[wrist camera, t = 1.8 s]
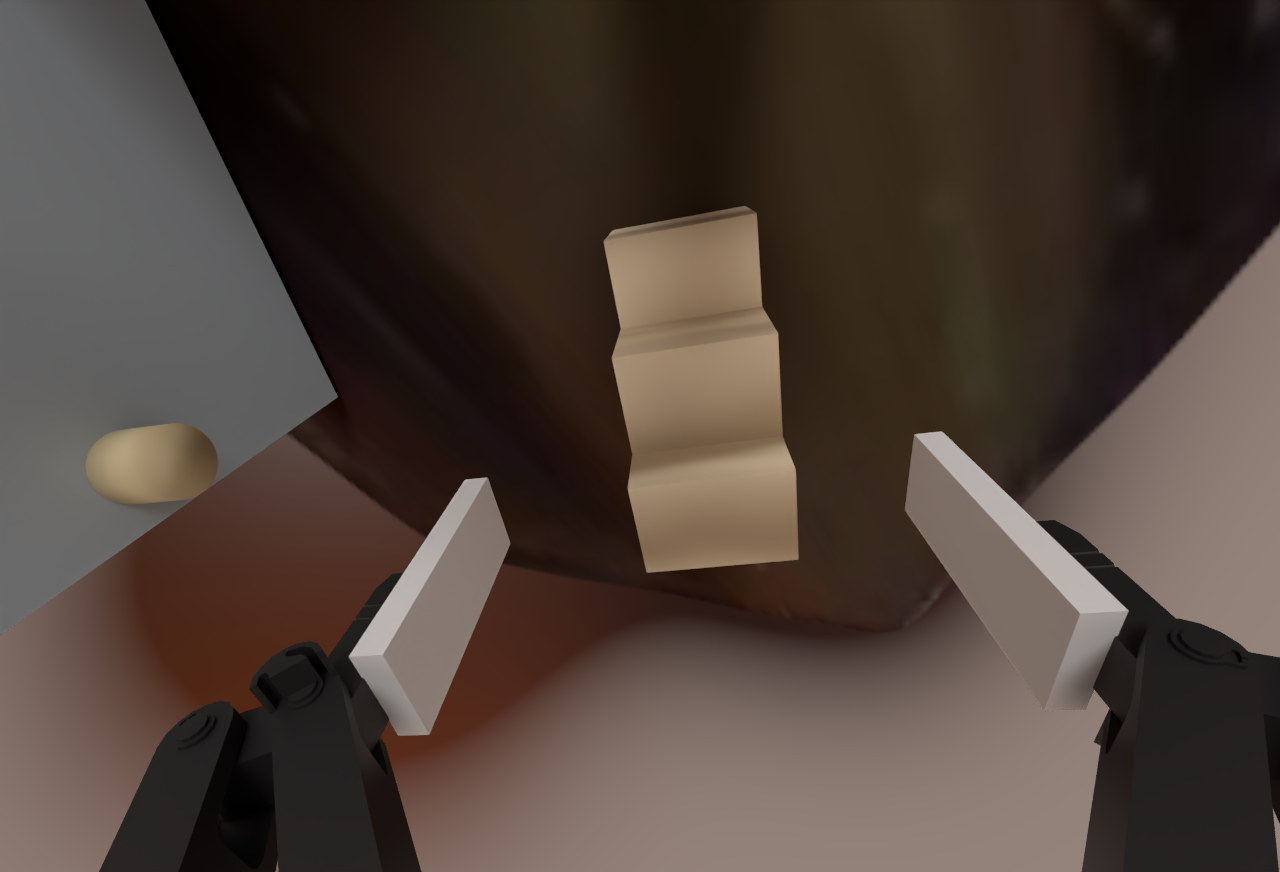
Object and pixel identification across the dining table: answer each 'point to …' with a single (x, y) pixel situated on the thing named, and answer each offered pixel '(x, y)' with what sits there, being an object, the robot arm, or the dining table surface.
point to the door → (122, 299)
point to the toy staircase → (701, 394)
